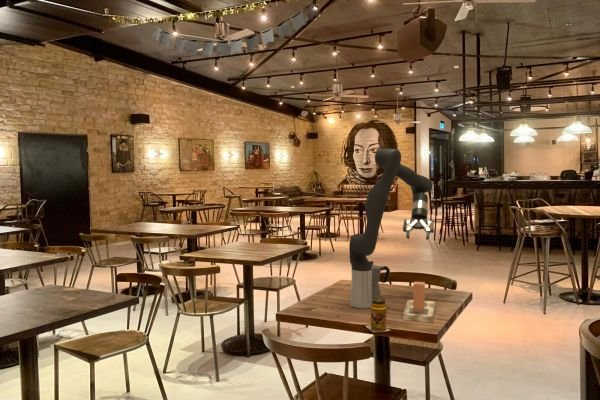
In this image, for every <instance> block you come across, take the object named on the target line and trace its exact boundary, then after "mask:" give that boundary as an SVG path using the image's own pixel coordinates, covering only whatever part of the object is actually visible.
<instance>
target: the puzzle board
mask: <svg viewBox="0 0 600 400" xmlns="http://www.w3.org/2000/svg"><path fill="white" fill-rule="evenodd" d="M435 309H436V302H435V301H433V300H432V301H431V300H425V305H424V313H422V312H413V299H408V300H407V302H406V305H405V307H404V310H403V314H402V320H403V321H410V322H421V323H434V322H433V321H434V314H435Z"/></svg>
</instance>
